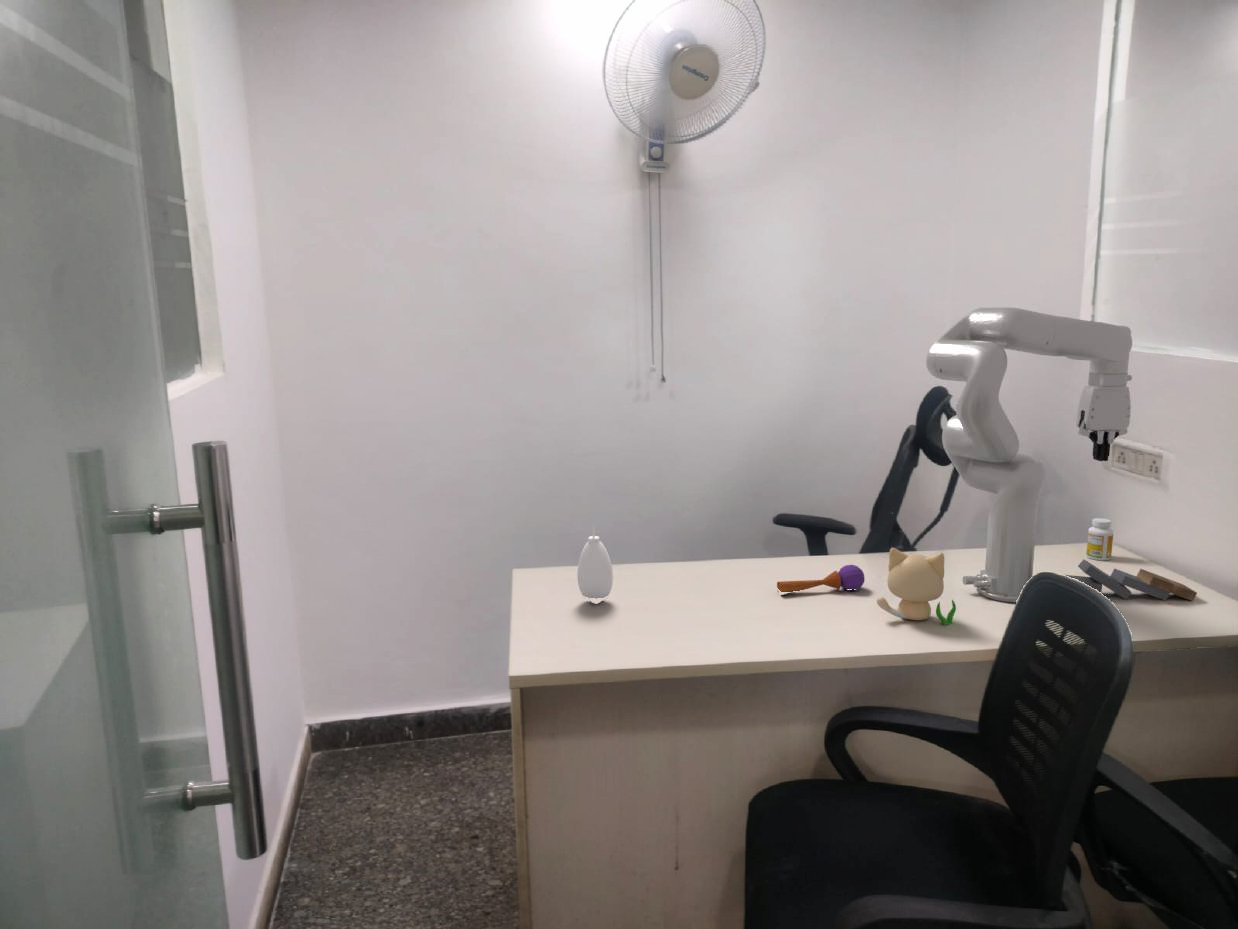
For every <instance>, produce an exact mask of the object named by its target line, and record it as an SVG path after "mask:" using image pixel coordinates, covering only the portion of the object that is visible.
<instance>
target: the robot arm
mask: <svg viewBox="0 0 1238 929" xmlns="http://www.w3.org/2000/svg"><path fill="white" fill-rule="evenodd" d="M1132 348H1133V338H1132V331H1131V328H1130V327H1128V326H1127V325H1116V324H1111V323H1106V322H1100V321H1094V320H1093V321H1092V320H1084V319H1079V318H1078V319H1077V318H1073V317H1067V316H1060V315H1052V314H1048V313H1042V312H1038V311H1034V310H1033V311H1032V310H1028V309H1023V308H1019V307H979V308H976V309H973V310H971V311H970V312H968V313H966V314H965V315H964V316H962V317H961V318H960V319H959V320H957V322H955V323H954V324H953V325H952V326H951V327H950V328H949V329H947V330H946V331H945V332H944V333H943V334H941V336H939V338H938V339H936V340H935V341H934V343H933V344H932V345H931V346H930V348H929V350H928V352H927V355H926V357H925V358H926V360H925V364H926V368H927V371H928V372H929V373H930V374H931V376H933V377H934V378H936V379H939V380H942V381H952V382H953V381H954V382H964V383H965V385H964V388H963V390H962V392H961V395H960V396H959V398H958V399H957V403H956V404H955V406H956V407H955V412H956V413H955V414H956V415H953V416H952V417H950V418H949V419H948V420H947V421H946V423H945V424H944V426H943V429H942V434H941V440H942V441H941V442H942V446H943V449H944V452H945V453H946V455H947V456H948V459H949V460H950V461H951V463H952V464H953V466H954V468H955V469H956V471H957V473H958V474H959V476H960V478H961V479H962V480H963V481H964V483H966V484H967V485H968V486H969V487H971V488H973V489H976V490H980V491H983V492H984V491H985V492H988V493H992V494H996V495H998V499H997V500H996V501H995V502H994V503H993V505H992V506H991V508H990V510H989V512H988V519H987V535H986V551H985V564H984V565H985V569H984V570H980V573H978V574H976V575H964V576H963V577H962V583H963V585H965V586H966V585H969V586H970V585H973V587H974V588H976V592H977V593H978V594H979V595H981V596H983V597H986V598H989V599H991V600H995V601H999V602H1005V603H1017V602H1016V600H1017V599H1018V597H1019V595H1020V592H1021V590H1022V589H1023V586H1024V585H1025V584H1026V582H1027V581H1028V580H1029V579H1030V578H1031V577H1032V578H1033V572H1034V571H1033V570H1034V562H1035V561H1034V560H1035V547H1036V546H1035V544H1036V532H1037V520H1038V519H1037V518H1038V509H1039V502H1040V499H1041V494H1042V492H1043V489H1044V485H1045V481H1046V470H1045V467H1044V466H1043V464H1042V463H1041V462H1040V461H1039V460H1038V459H1036V457H1033V456H1030V455H1027V454H1024V453H1019V449H1020V441H1019V437H1018V435H1017V432H1016V430H1015V429H1014V427H1013V425H1012V423H1011V421H1010V418H1008V415H1007V414H1006V412H1005V411H1004V409H1003V406H1002V404H1001V402H1000V398H999V397H1000V396H999V395H1000V389H1001V387H1002V383H1003V380H1004V377H1005V374H1006V371H1007V368H1008V356H1007V353H1006V350H1010V351H1015V352H1016V351H1017V352H1021V353H1022V352H1023V353H1030V354H1034V355H1037V356H1039V355H1040V356H1046V357H1066V358H1067V359H1070V360H1075V361H1089V368H1088V369H1089V371H1088V372H1089V373H1088V381H1087V386H1083V389H1082V393H1081V395H1080V399H1079V403H1078V408H1077V415H1076V427H1077V428H1079V429H1078V435H1080V436H1083V437H1088V439H1090V442H1091V443H1093V444H1092V459H1093V460H1095V461H1098V462H1108V461H1109V456H1110V450H1111V445H1112V444H1113V443H1114V441H1115V440H1116V438H1118V437H1119V436H1123V435H1127V434H1128V428H1129V426H1130V422H1131V411H1132V410H1131V407H1132V406H1131V395H1130V394H1131V393H1130V388H1129V386H1127V384H1128V382H1130V381H1132V379H1133V376H1132V375H1131V374H1129V371H1128V370H1129V361H1130V352H1131V351H1132Z"/></svg>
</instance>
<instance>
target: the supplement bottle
mask: <svg viewBox="0 0 1238 929" xmlns="http://www.w3.org/2000/svg"><path fill="white" fill-rule="evenodd" d="M1091 525H1092V526H1091V527H1089V528H1088V531H1087V544H1086V545H1087V546H1086V557H1087V558H1089V559H1090V558H1091V560H1094V561H1104V562H1105V561H1109V560H1111V559H1112V551H1113V541H1114V531H1113V529H1112V528H1111V526H1112V520H1110V519H1107V518H1100V517H1099V518H1095V517H1094V518H1093V519H1092V522H1091Z"/></svg>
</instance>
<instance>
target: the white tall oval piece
mask: <svg viewBox="0 0 1238 929" xmlns="http://www.w3.org/2000/svg"><path fill="white" fill-rule="evenodd" d="M595 534H596V533H595V526H594V525H592V535H590V536H589V537H587V542H586V543H585V544H584V547H583V548H582V551H581V553H580V556H579V560H578V565H577V577H576V578H577V584H578V588H579V591H580V593H581V595H582V596H585V597H588V598H596V599H597V598H604V597H606V596H608V597H609V595H610V594H611V590H612V587H613V583H614V582H613V580H614V579H613V578H614V576H613V575H614V574H613V572H614V571H613V570H614V569H613V565H612V561H611V557H610V555H609V553H608V550H607V548H606V546H605V545H604V544H603V541H600V540H601V537H600V536H597V535H595Z"/></svg>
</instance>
